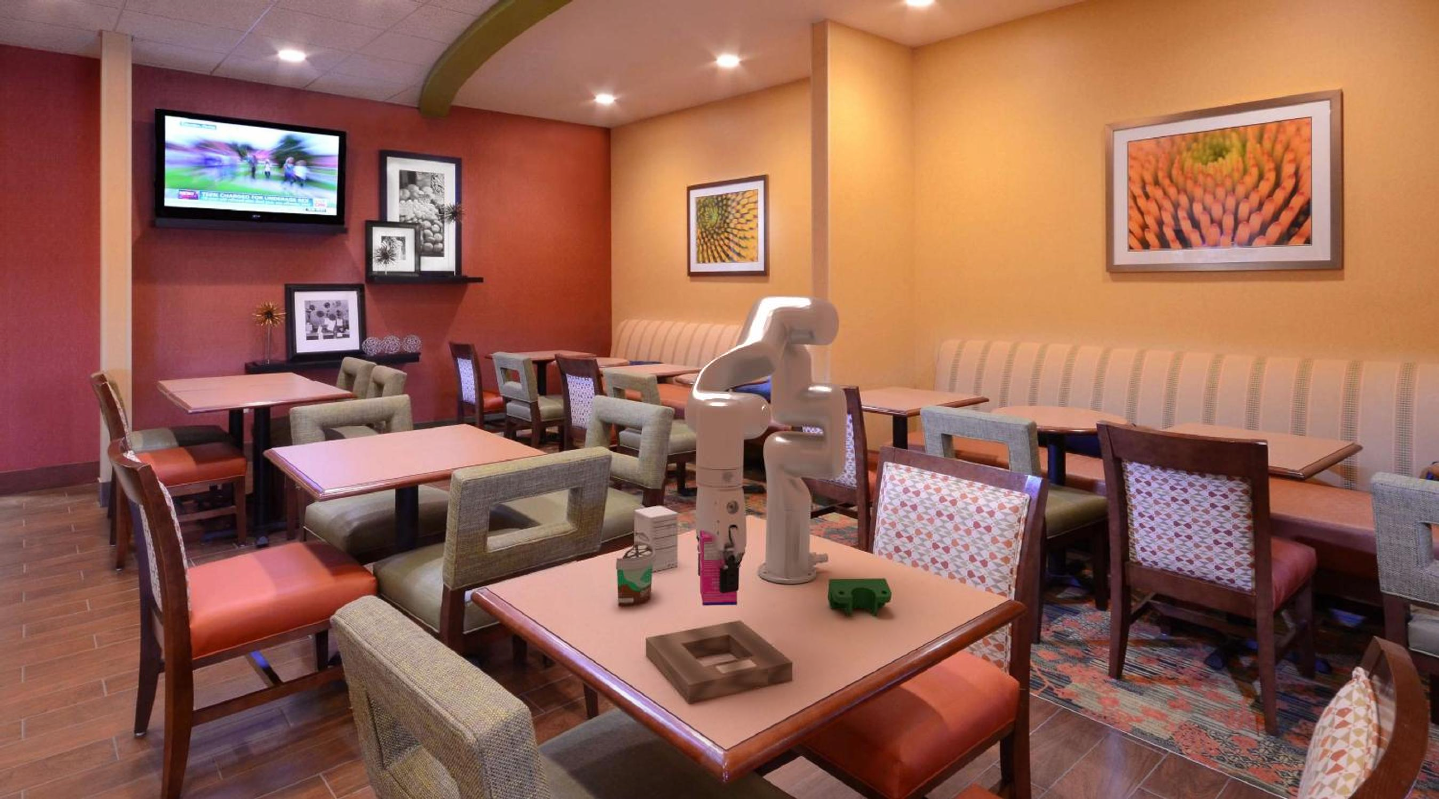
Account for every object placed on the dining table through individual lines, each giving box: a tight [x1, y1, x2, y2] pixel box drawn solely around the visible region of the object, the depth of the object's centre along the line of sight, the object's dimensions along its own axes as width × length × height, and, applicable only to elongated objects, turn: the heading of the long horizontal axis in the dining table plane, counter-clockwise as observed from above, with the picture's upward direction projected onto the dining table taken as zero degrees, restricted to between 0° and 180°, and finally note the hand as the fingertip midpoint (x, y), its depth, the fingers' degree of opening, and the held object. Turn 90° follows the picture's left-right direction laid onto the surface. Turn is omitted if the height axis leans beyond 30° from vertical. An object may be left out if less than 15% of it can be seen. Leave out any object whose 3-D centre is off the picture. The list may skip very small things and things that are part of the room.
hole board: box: [645, 619, 794, 705], centre depth 133 cm, size 18×18×3 cm
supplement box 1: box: [633, 505, 679, 573], centre depth 181 cm, size 7×7×13 cm
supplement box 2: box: [699, 530, 738, 607], centre depth 131 cm, size 6×6×12 cm
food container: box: [615, 540, 657, 607], centre depth 161 cm, size 12×6×10 cm, turn 168°
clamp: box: [826, 577, 893, 618], centre depth 157 cm, size 12×6×9 cm
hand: (717, 582), depth 131 cm, fingers closed on supplement box 2, 7 cm apart
